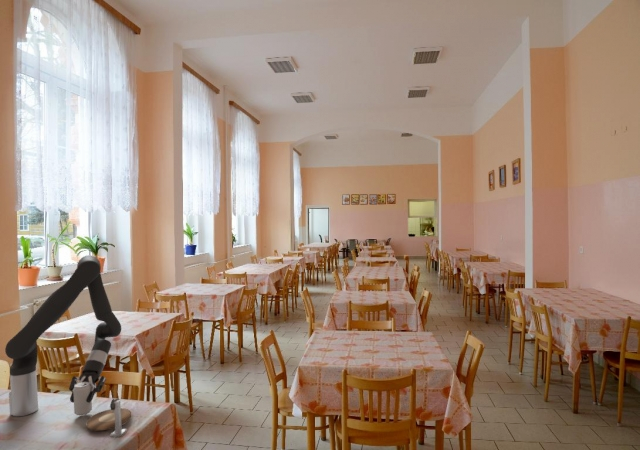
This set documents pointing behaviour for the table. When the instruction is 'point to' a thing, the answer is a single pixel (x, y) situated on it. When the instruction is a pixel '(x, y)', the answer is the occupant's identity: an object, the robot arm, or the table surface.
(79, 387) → the beverage can
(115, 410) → the stand
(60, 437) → the table surface
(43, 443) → the table surface
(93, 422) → the disc
